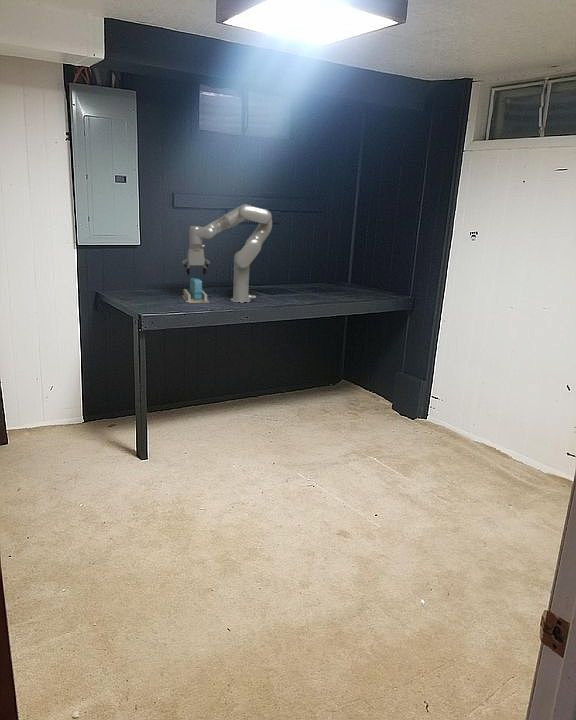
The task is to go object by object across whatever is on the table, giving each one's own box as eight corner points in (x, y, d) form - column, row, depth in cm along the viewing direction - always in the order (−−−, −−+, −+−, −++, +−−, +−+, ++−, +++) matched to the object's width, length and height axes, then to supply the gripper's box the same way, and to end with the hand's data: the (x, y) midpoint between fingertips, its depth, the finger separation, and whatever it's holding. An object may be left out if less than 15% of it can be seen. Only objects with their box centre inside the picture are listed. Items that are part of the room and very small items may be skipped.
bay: (181, 296, 373) (181, 289, 371) (203, 296, 377) (203, 289, 376) (186, 302, 355) (186, 294, 353) (209, 302, 359) (209, 295, 358)
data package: (201, 300, 361) (202, 280, 358) (194, 300, 360) (194, 280, 356) (196, 296, 372) (197, 277, 368) (189, 296, 370) (189, 277, 367)
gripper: (209, 246, 363) (209, 273, 368) (180, 246, 357) (181, 274, 362) (211, 247, 356) (211, 275, 361) (182, 247, 351) (183, 275, 356)
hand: (196, 274), depth 362 cm, fingers open, 9 cm apart
